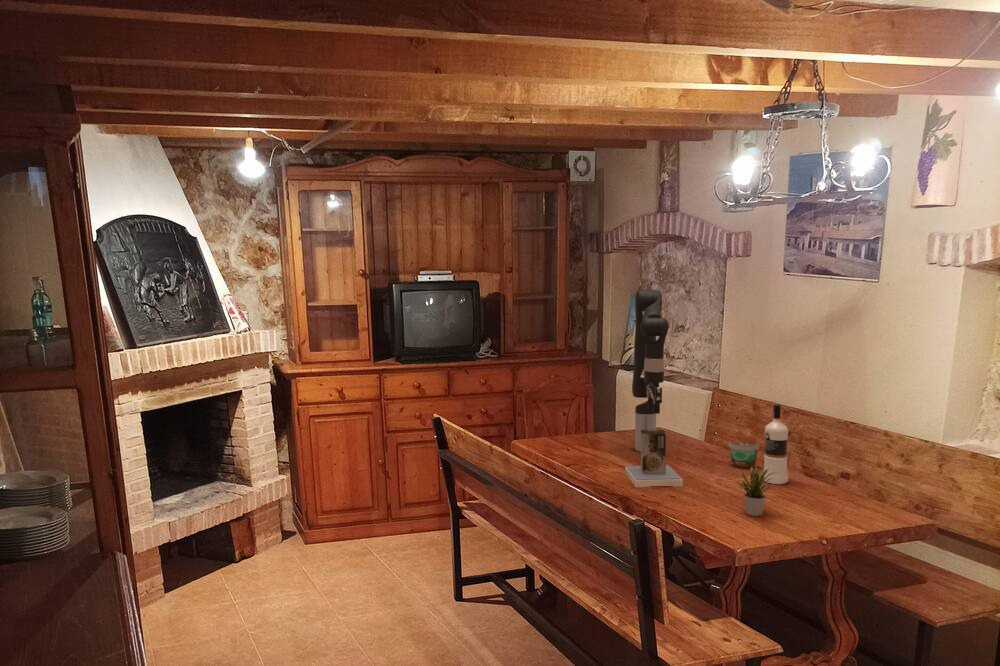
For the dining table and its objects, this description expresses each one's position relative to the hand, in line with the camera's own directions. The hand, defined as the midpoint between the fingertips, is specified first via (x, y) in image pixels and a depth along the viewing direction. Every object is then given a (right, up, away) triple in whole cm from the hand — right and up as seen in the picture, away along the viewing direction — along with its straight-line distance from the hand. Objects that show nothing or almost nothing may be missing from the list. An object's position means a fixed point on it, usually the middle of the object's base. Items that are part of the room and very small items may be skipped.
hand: (653, 411), depth 270 cm
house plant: (+27, -31, -36) cm, 55 cm away
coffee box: (0, -24, +3) cm, 24 cm away
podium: (0, -27, +3) cm, 27 cm away
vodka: (+47, -27, -1) cm, 54 cm away
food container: (+41, -25, +18) cm, 51 cm away
